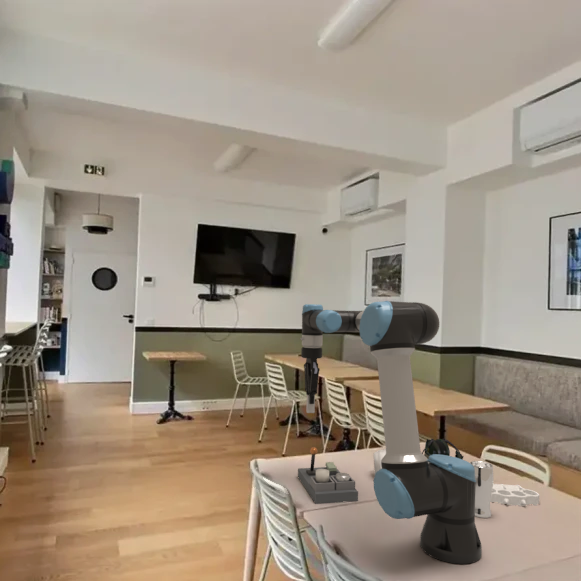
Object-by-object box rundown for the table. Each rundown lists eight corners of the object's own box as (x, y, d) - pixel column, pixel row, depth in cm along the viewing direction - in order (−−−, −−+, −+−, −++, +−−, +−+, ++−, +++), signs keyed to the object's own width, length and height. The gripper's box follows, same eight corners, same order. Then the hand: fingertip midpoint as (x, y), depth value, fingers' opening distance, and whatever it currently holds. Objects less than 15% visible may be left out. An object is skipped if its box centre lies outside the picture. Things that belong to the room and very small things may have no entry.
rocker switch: (336, 471, 170) (336, 467, 170) (328, 471, 169) (329, 468, 169) (332, 465, 174) (333, 462, 174) (325, 465, 174) (325, 462, 173)
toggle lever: (316, 472, 169) (318, 449, 167) (309, 473, 169) (311, 449, 167) (314, 468, 172) (316, 445, 170) (307, 468, 171) (309, 445, 169)
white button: (330, 482, 156) (330, 473, 156) (317, 483, 155) (317, 473, 155) (326, 477, 160) (327, 468, 160) (313, 478, 159) (314, 469, 159)
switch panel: (357, 501, 155) (358, 483, 155) (315, 503, 152) (316, 486, 152) (334, 474, 178) (335, 459, 179) (297, 476, 175) (298, 461, 175)
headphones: (407, 445, 200) (432, 468, 181) (430, 422, 201) (457, 443, 182) (426, 465, 203) (452, 491, 184) (448, 443, 204) (476, 466, 185)
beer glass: (478, 519, 143) (478, 468, 144) (463, 510, 150) (464, 461, 151) (498, 517, 145) (498, 467, 146) (483, 508, 152) (483, 459, 152)
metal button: (351, 486, 157) (351, 476, 158) (338, 487, 157) (338, 477, 157) (346, 481, 162) (346, 472, 162) (334, 482, 161) (334, 472, 161)
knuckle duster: (527, 493, 167) (546, 510, 152) (473, 489, 168) (487, 507, 154) (527, 483, 167) (546, 500, 152) (473, 480, 169) (487, 496, 154)
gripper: (297, 345, 181) (296, 408, 180) (306, 348, 168) (304, 416, 167) (316, 345, 183) (315, 408, 182) (327, 348, 170) (325, 416, 169)
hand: (310, 412), depth 175 cm, fingers closed
